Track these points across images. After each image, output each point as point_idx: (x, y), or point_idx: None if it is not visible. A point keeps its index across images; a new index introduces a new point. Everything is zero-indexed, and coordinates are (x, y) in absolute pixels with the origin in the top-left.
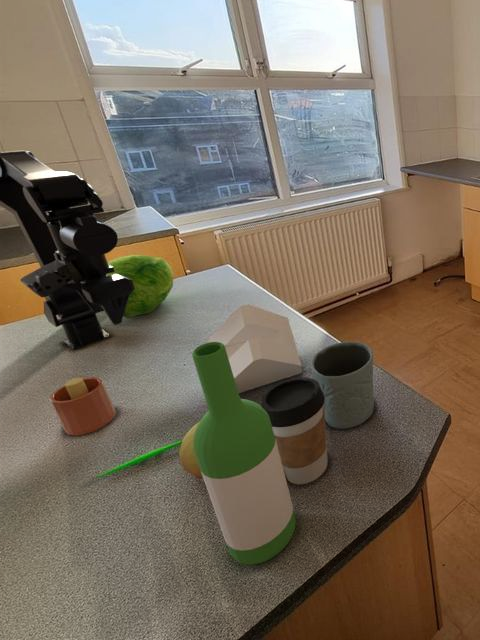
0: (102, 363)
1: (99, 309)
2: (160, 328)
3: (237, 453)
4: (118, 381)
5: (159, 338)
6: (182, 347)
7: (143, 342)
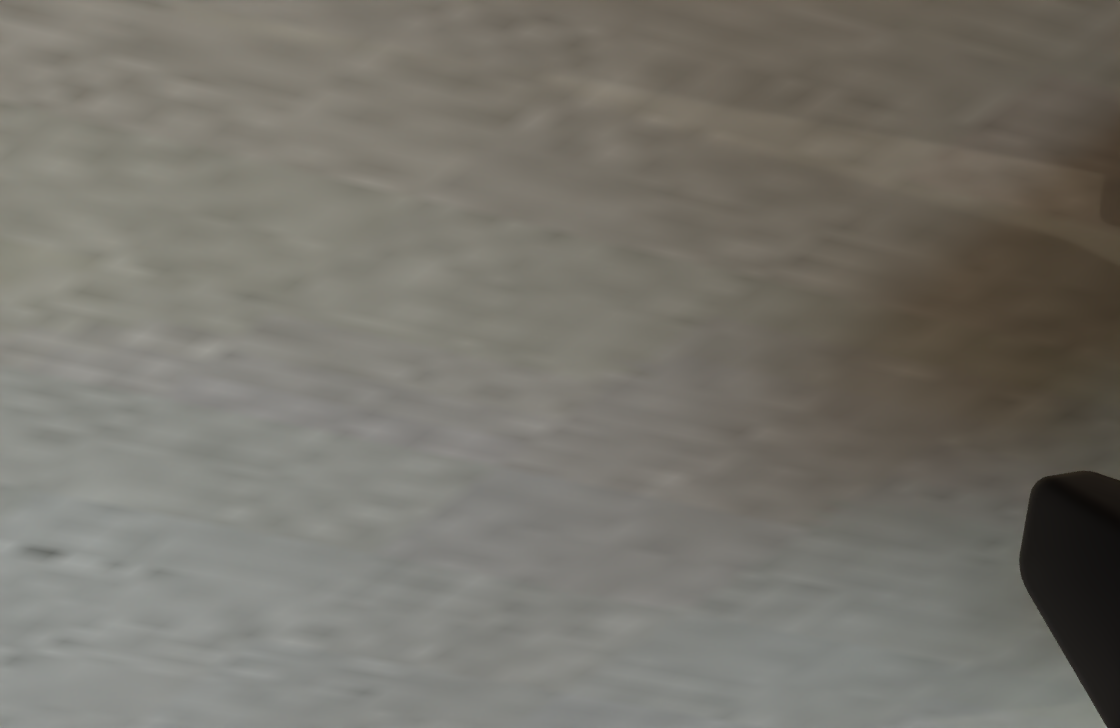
0: (743, 48)
1: (1047, 583)
2: (944, 557)
3: None
4: (186, 55)
5: (767, 514)
6: (415, 603)
7: (820, 410)
